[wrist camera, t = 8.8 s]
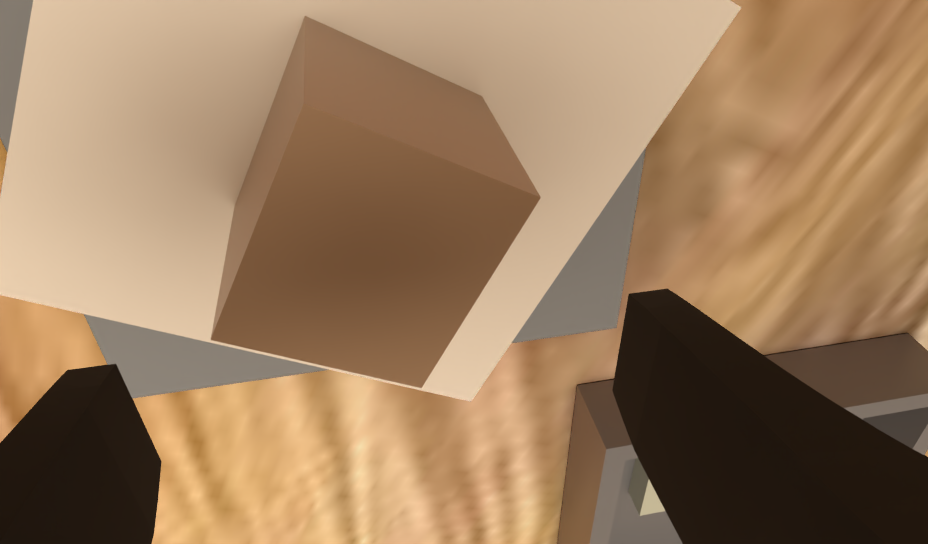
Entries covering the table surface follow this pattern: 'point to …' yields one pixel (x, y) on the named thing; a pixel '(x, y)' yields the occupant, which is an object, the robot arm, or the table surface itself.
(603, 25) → the lid
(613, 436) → the storage box
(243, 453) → the table surface
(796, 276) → the table surface
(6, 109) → the slate mat
